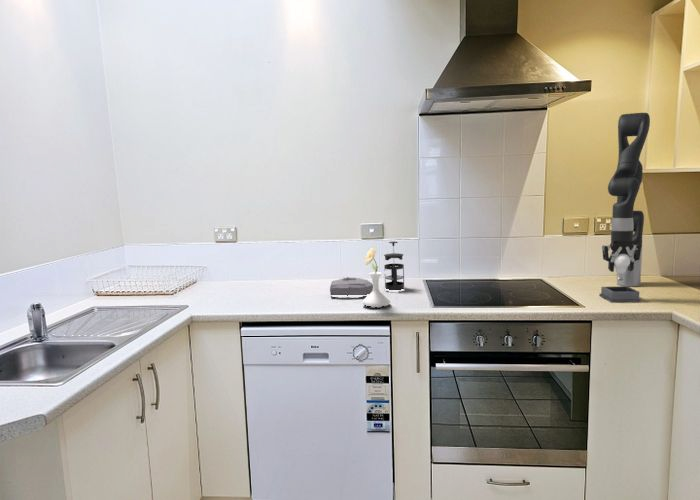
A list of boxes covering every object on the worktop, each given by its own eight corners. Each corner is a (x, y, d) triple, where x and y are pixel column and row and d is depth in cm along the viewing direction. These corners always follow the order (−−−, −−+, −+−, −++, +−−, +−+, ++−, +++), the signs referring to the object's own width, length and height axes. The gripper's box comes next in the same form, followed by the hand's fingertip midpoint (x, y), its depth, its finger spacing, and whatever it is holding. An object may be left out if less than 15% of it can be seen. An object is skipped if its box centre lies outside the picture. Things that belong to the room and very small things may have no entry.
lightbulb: (632, 281, 183) (633, 254, 182) (614, 281, 185) (615, 254, 183) (626, 278, 190) (627, 251, 188) (608, 278, 191) (610, 251, 189)
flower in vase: (363, 302, 199) (361, 244, 196) (390, 302, 198) (388, 243, 195) (361, 311, 187) (358, 248, 183) (389, 310, 185) (387, 247, 182)
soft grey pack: (328, 300, 208) (373, 299, 206) (327, 281, 207) (373, 280, 205) (333, 292, 223) (375, 291, 221) (332, 275, 222) (374, 274, 219)
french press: (406, 292, 215) (404, 242, 212) (385, 293, 215) (383, 243, 212) (403, 287, 227) (402, 239, 224) (383, 287, 227) (382, 240, 224)
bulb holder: (599, 295, 194) (599, 286, 194) (627, 295, 193) (627, 286, 192) (611, 302, 183) (611, 292, 183) (641, 302, 182) (641, 292, 182)
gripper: (636, 227, 187) (635, 269, 190) (598, 228, 189) (597, 270, 191) (646, 229, 180) (644, 272, 182) (607, 230, 182) (605, 273, 184)
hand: (620, 271), depth 187 cm, fingers closed on lightbulb, 6 cm apart
